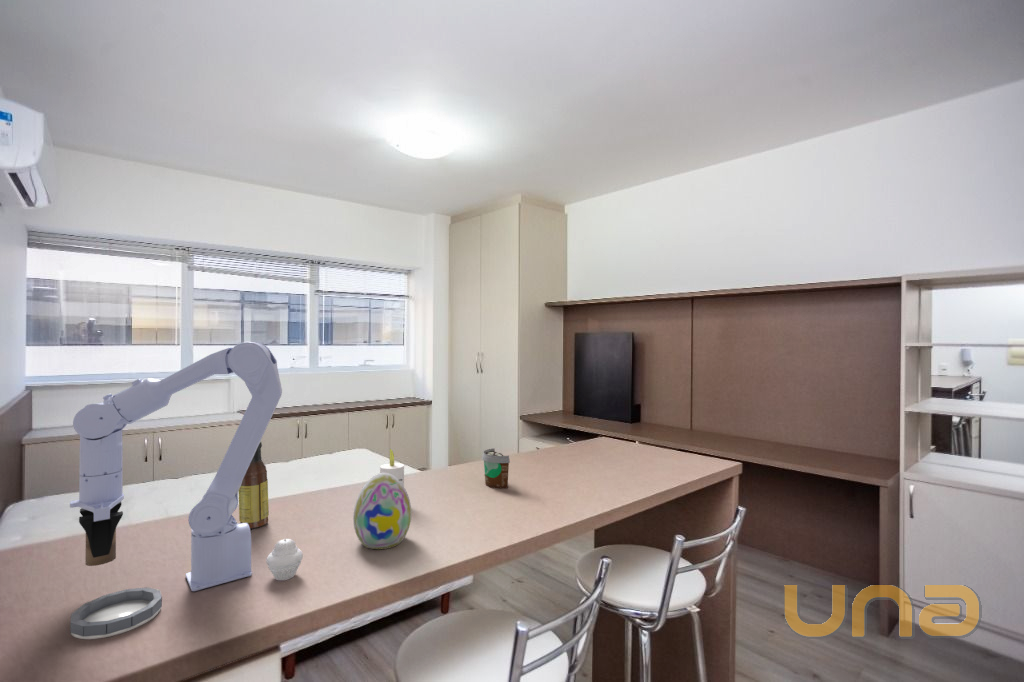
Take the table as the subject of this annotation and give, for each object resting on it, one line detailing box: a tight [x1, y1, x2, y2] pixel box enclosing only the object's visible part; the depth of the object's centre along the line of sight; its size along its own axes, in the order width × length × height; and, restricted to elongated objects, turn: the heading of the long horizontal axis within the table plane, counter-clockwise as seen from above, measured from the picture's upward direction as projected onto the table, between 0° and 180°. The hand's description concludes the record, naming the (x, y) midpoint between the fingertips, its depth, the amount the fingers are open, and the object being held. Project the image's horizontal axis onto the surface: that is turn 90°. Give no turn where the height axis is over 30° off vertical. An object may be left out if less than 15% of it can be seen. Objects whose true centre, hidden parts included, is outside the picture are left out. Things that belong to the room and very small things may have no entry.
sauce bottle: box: [238, 440, 270, 530], centre depth 116 cm, size 7×6×20 cm
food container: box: [481, 447, 511, 490], centre depth 149 cm, size 12×6×10 cm, turn 25°
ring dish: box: [69, 587, 163, 640], centre depth 76 cm, size 11×11×2 cm
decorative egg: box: [352, 472, 412, 550], centre depth 106 cm, size 12×12×15 cm
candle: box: [379, 448, 405, 487], centre depth 130 cm, size 6×6×15 cm
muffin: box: [266, 538, 304, 581], centre depth 90 cm, size 6×6×7 cm
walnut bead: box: [84, 529, 117, 567], centre depth 84 cm, size 4×4×6 cm
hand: (100, 551), depth 84 cm, fingers closed on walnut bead, 4 cm apart
